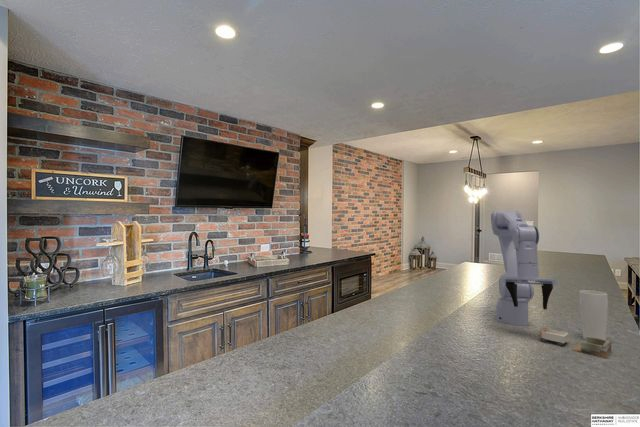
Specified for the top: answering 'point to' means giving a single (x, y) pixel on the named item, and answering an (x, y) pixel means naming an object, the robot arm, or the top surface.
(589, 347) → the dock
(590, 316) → the drinking glass
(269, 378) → the top surface
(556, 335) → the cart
